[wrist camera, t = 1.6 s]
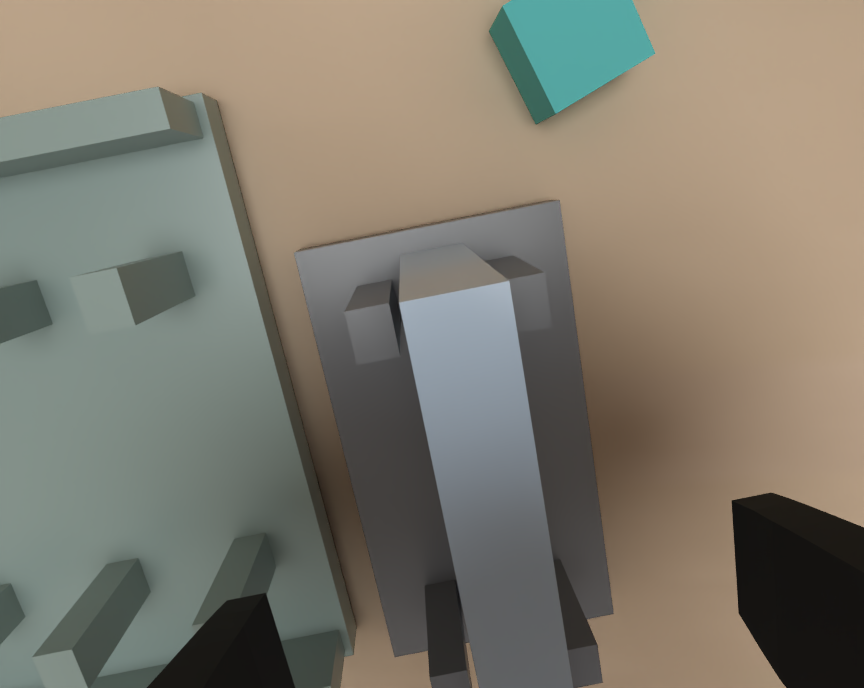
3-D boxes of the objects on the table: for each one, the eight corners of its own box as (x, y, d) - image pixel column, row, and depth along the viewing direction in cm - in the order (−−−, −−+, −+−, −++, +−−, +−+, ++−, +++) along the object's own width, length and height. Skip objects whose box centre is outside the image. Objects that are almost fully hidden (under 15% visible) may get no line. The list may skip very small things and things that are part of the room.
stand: (603, 594, 17) (661, 708, 13) (395, 635, 16) (393, 762, 13) (550, 200, 14) (604, 202, 10) (299, 249, 14) (262, 269, 10)
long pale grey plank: (527, 615, 16) (600, 863, 10) (475, 625, 16) (519, 879, 10) (461, 242, 13) (509, 280, 7) (400, 254, 13) (399, 303, 7)
